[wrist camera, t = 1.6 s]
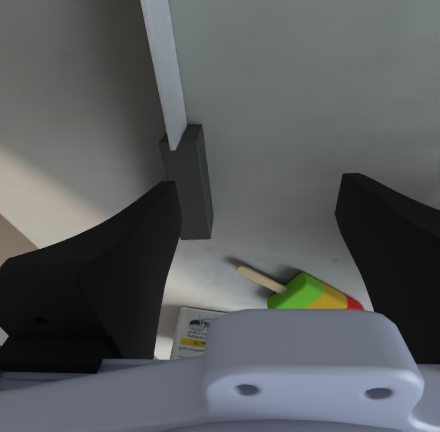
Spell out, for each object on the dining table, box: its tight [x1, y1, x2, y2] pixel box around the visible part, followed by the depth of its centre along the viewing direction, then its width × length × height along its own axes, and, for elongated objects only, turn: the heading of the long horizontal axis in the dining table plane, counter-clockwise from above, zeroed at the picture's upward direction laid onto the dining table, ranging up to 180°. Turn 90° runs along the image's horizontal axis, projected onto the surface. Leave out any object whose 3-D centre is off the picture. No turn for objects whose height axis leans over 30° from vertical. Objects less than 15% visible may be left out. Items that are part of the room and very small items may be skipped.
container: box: [170, 307, 226, 360], centre depth 29 cm, size 8×8×13 cm
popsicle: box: [236, 265, 364, 310], centre depth 28 cm, size 6×15×2 cm, turn 58°
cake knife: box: [140, 0, 214, 240], centre depth 16 cm, size 19×2×4 cm, turn 5°
